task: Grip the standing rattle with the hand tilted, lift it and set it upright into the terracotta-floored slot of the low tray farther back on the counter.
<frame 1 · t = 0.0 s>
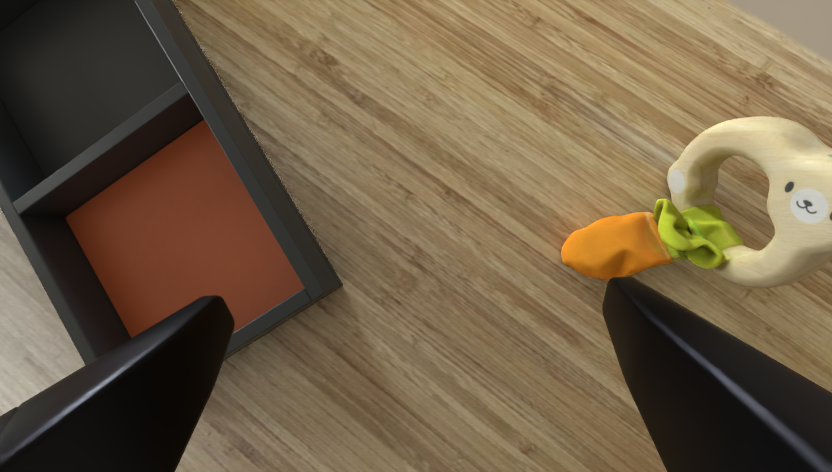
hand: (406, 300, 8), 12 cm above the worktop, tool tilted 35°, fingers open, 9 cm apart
tray: (145, 161, 22), on the worktop
rattle: (639, 211, 19), on the worktop
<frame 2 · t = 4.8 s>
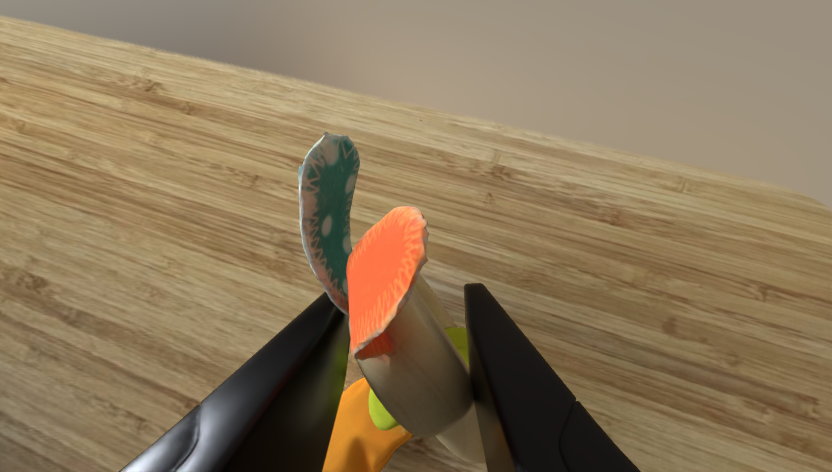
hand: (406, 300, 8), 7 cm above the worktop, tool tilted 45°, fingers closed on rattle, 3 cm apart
rattle: (397, 356, 15), on the worktop, touching gripper
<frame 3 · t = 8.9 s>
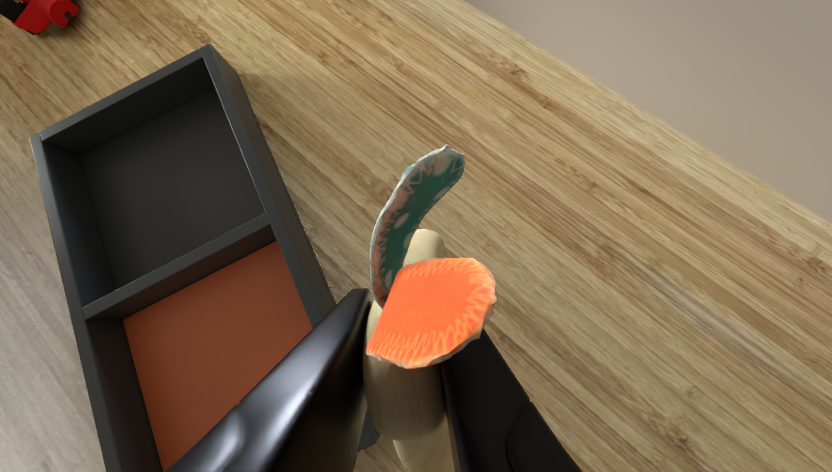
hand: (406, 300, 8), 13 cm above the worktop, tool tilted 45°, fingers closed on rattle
tray: (210, 272, 23), on the worktop
rattle: (391, 333, 15), point 6 cm above the worktop, touching gripper
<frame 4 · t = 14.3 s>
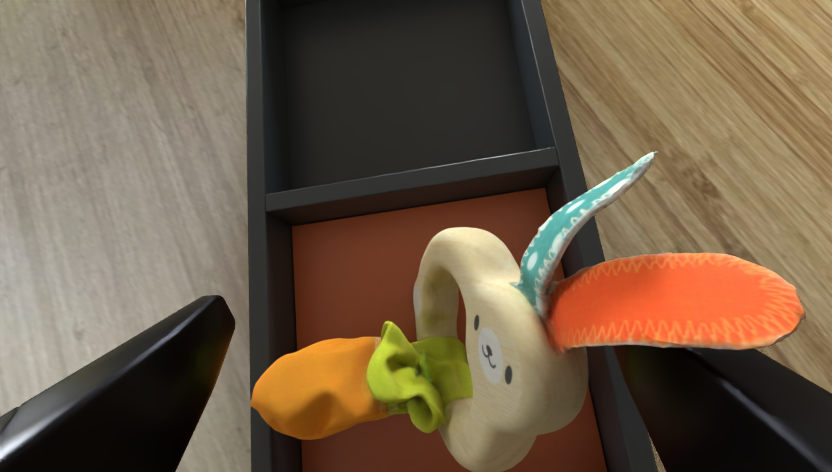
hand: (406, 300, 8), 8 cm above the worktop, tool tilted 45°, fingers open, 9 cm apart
tray: (415, 202, 17), on the worktop
rattle: (380, 335, 15), point 1 cm above the worktop, touching gripper, tray
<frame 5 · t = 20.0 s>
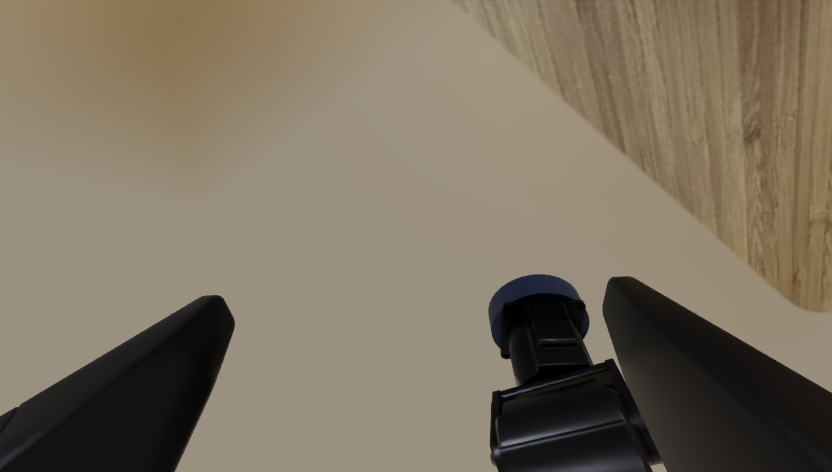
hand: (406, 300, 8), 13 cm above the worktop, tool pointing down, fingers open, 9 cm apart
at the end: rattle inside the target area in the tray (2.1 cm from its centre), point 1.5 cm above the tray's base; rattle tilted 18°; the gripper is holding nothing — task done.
